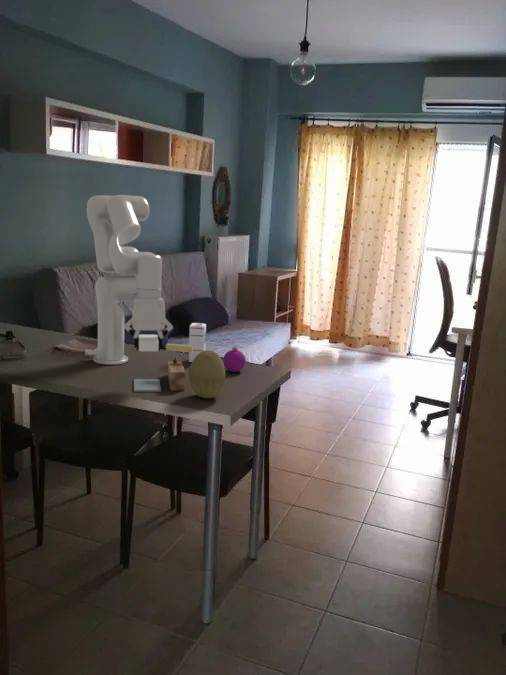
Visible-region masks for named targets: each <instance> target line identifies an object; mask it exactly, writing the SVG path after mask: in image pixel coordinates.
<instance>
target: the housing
mask: <svg viewBox="0 0 506 675" xmlns="http://www.w3.org/2000/svg"><path fill="white" fill-rule="evenodd" d="M167 379H168V384H169V389H171V390H170V391H185V385H186V384H185V383H186V382H185V381H186V371H185V367H184V365H183V363H182V361H181V360H180V361H178V360H177V363H173V360H170V361H167Z"/></svg>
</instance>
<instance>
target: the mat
mask: <svg viewBox="0 0 506 675" xmlns="http://www.w3.org/2000/svg"><path fill="white" fill-rule="evenodd" d="M133 392H134V393H162V388H161V380H160V379H157V378H155V379H154V378H150V379H149V378H144V379H143V378H138V379H137V378H134V379H133Z"/></svg>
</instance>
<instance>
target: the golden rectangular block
mask: <svg viewBox="0 0 506 675" xmlns="http://www.w3.org/2000/svg"><path fill="white" fill-rule="evenodd" d="M165 346H166V347H165V351H169V352H172V361H173V363H177V361H178V352H181V353H188V354H189V353H192V352H193V346H191V345H189V344H179V343H170V342H169V343H166V344H165Z"/></svg>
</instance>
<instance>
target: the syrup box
mask: <svg viewBox="0 0 506 675" xmlns="http://www.w3.org/2000/svg"><path fill="white" fill-rule="evenodd" d="M188 337H189V340H188V343H189V344H188V345H191V346H193V352H192V353H189V352H188V363H189V362H192V361H193V360H194V358H195V357H196V356H197V355H198V354H199V353H200V352H202V351H206V344H207V343H206V341H207V323H203V322H191V324H190V325H189V336H188Z"/></svg>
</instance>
